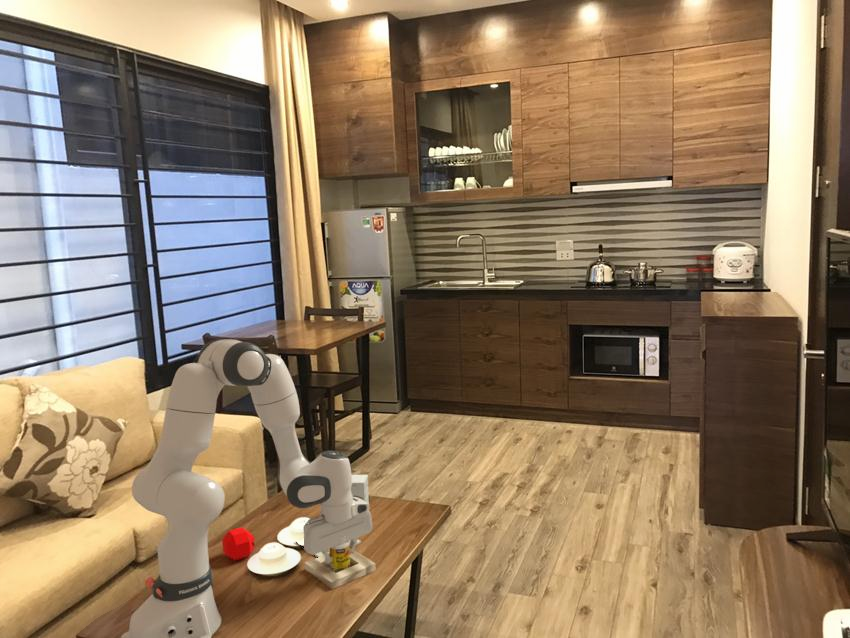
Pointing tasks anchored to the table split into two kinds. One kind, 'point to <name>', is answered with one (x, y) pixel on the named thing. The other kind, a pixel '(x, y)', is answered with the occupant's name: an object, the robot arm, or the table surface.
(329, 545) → the robot arm
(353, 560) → the birch caddy
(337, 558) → the supplement bottle
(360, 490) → the supplement box
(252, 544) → the ball
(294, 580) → the table surface
